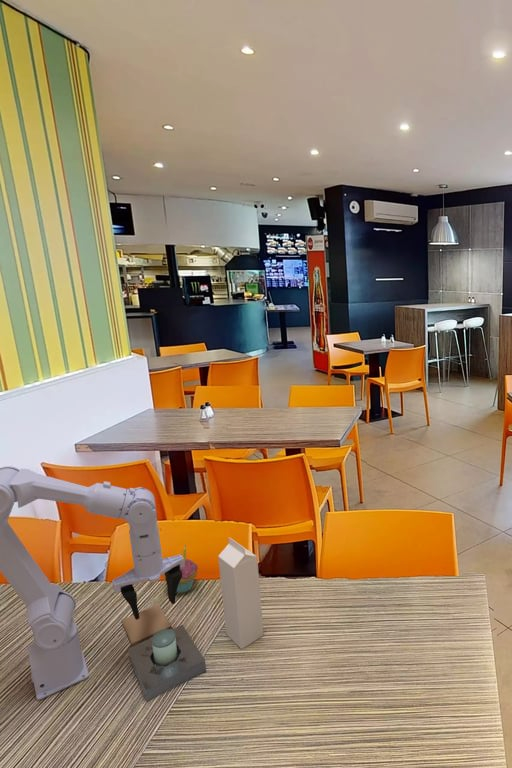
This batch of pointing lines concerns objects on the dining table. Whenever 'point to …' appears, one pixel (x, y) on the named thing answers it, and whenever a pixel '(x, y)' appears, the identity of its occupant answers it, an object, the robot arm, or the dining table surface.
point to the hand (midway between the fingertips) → (154, 608)
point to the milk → (240, 594)
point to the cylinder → (164, 647)
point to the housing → (172, 675)
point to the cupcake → (186, 574)
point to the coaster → (145, 624)
